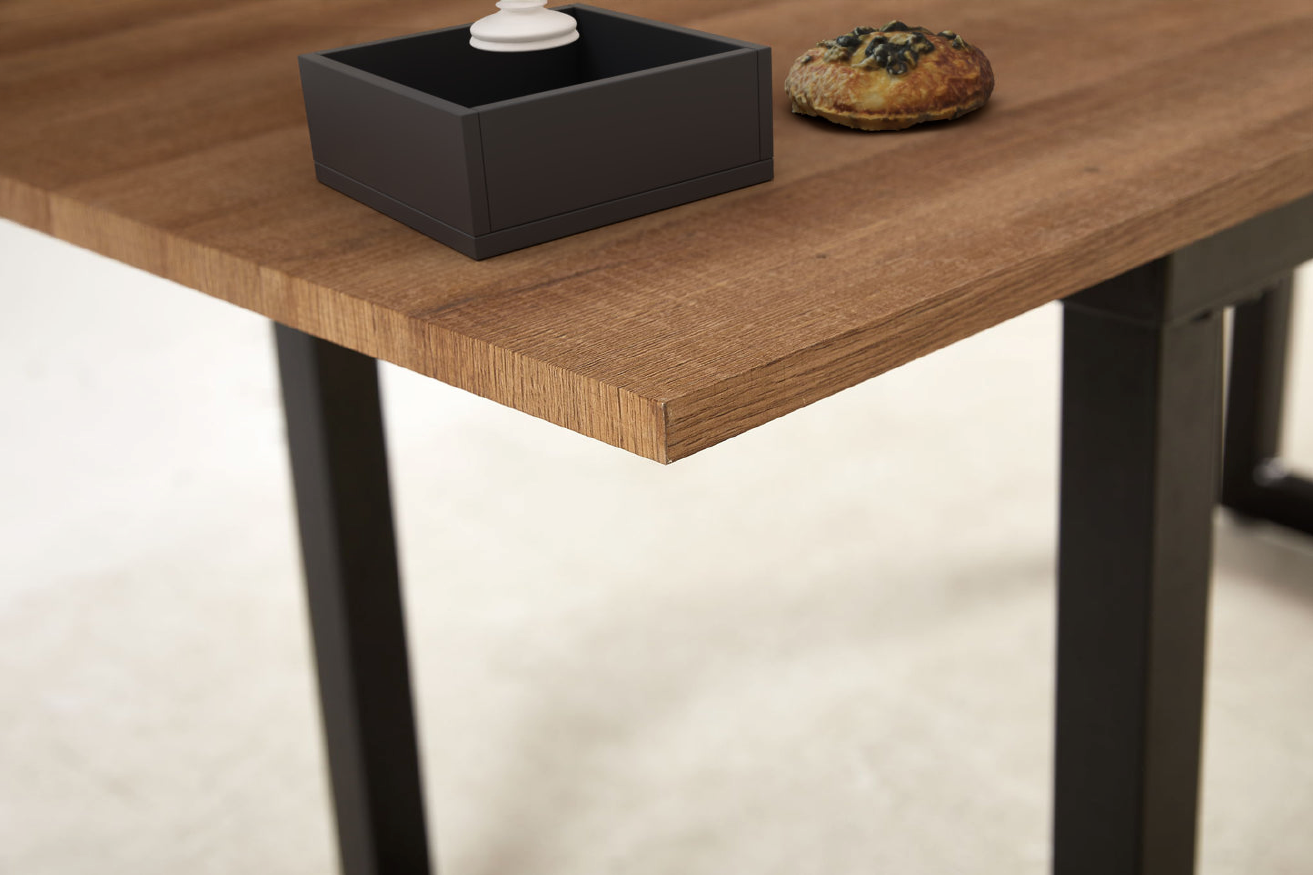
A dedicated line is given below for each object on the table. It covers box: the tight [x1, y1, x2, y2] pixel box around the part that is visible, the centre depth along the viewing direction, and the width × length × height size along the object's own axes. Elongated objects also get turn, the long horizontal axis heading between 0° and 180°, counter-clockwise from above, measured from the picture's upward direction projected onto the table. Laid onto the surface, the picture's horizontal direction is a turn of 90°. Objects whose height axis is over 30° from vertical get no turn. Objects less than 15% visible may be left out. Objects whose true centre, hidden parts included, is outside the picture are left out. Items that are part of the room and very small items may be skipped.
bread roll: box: [783, 19, 996, 132], centre depth 80 cm, size 11×11×5 cm
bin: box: [297, 2, 775, 261], centre depth 71 cm, size 16×16×6 cm
